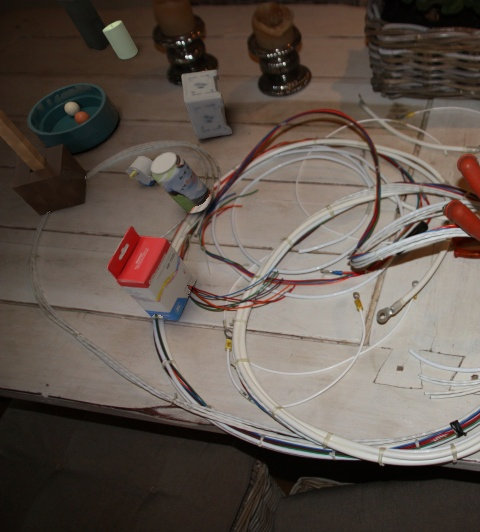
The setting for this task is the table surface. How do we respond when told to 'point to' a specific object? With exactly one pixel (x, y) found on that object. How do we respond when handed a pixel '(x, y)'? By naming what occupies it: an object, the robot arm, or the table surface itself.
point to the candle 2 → (120, 40)
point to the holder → (51, 181)
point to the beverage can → (179, 181)
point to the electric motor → (141, 170)
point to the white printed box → (205, 104)
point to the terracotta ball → (81, 117)
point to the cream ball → (72, 108)
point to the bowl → (73, 117)
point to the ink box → (152, 274)
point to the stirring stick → (20, 144)
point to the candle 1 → (87, 22)
